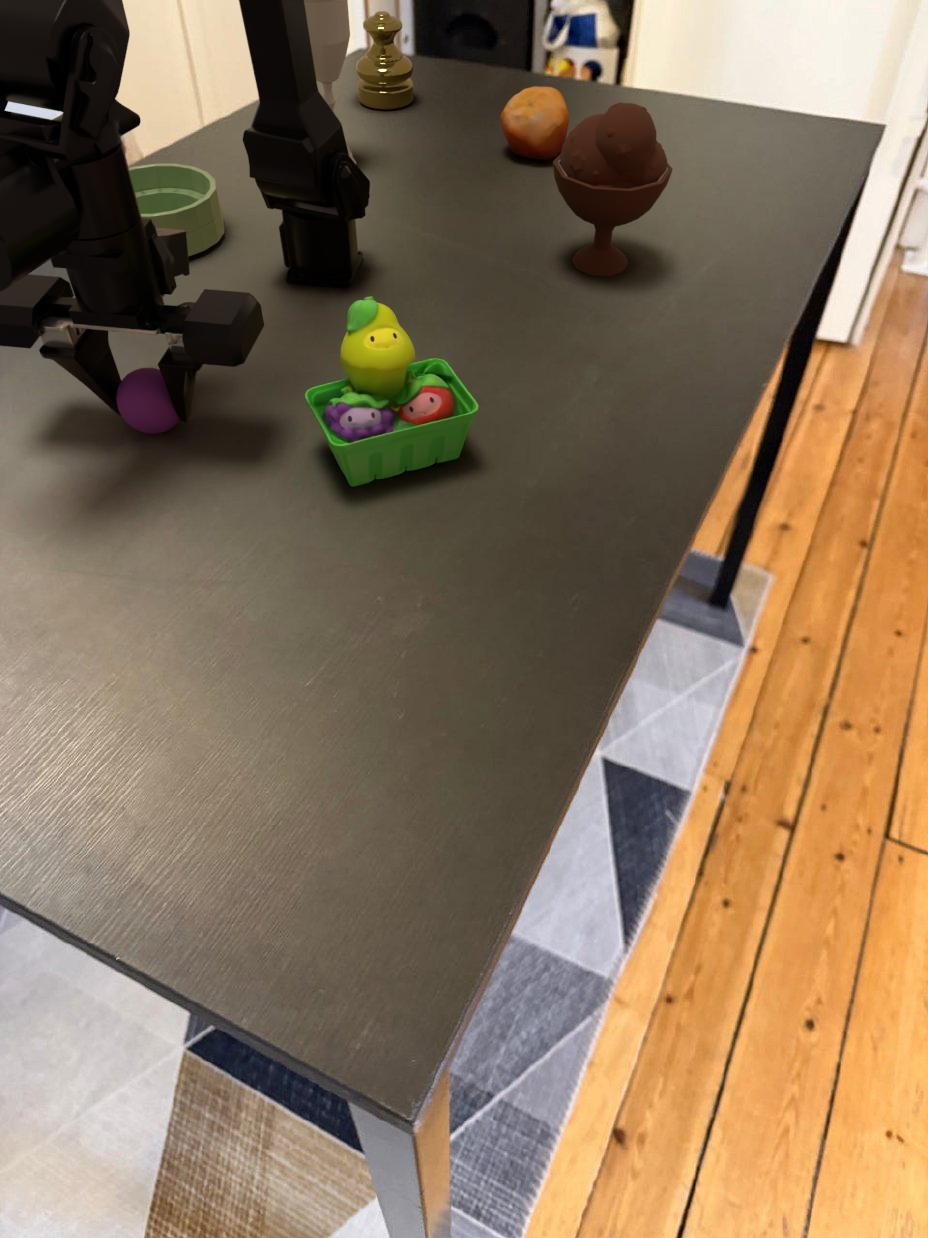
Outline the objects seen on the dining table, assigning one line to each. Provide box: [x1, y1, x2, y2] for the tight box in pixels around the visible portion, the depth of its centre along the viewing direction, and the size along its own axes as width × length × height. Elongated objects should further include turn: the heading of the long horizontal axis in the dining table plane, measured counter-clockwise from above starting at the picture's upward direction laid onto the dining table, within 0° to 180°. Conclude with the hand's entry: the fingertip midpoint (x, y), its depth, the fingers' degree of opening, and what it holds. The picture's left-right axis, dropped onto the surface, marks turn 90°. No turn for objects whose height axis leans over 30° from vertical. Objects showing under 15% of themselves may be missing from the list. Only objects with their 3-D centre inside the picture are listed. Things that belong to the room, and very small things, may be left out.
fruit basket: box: [304, 295, 479, 487], centre depth 65 cm, size 11×9×11 cm
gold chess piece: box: [355, 10, 414, 111], centre depth 115 cm, size 7×7×10 cm
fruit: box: [499, 85, 570, 161], centre depth 106 cm, size 8×8×8 cm
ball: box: [116, 367, 181, 435], centre depth 69 cm, size 5×5×5 cm
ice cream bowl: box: [552, 102, 674, 277], centre depth 84 cm, size 11×11×15 cm
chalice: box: [304, 0, 357, 165], centre depth 98 cm, size 7×7×18 cm
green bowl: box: [129, 163, 225, 258], centre depth 90 cm, size 12×12×5 cm
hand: (155, 416), depth 70 cm, fingers closed on ball, 5 cm apart
